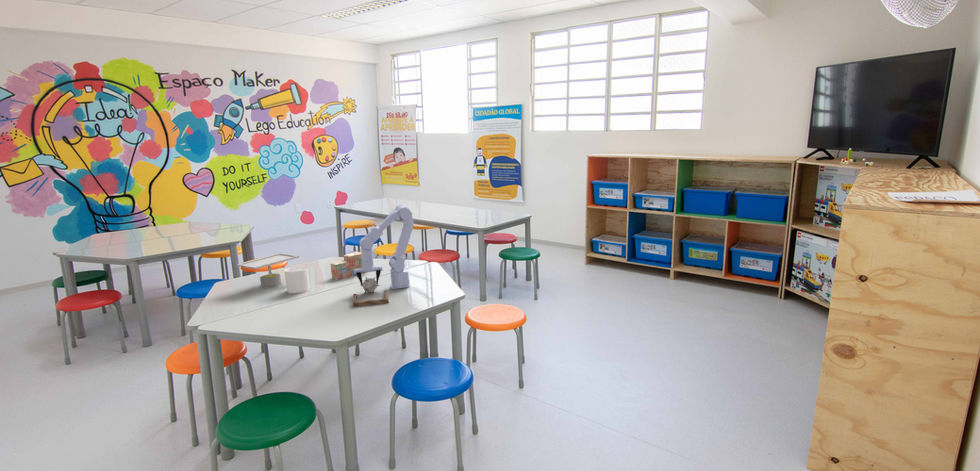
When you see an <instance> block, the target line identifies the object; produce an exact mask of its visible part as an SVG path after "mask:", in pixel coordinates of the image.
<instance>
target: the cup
mask: <svg viewBox="0 0 980 471" xmlns="http://www.w3.org/2000/svg"><path fill="white" fill-rule="evenodd" d="M283 272H284V278H285V279H284V280H285V288H286V292H287V293H288V294H294V295H295V294H302V293H305V292H308V291H309V290H310V289H311V287H310V277H309V270H308V267H307V266H305V265H300V266H299V265H298V266H292V267H286V268H285V269H284V271H283Z"/></svg>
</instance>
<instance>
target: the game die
mask: <svg viewBox="0 0 980 471" xmlns="http://www.w3.org/2000/svg"><path fill="white" fill-rule="evenodd" d="M362 282H363V284H361V283H360V286H361V285H362V286H361V287H362V288H363V289H364V294H366V293H372V294H374V293H375V291H376V289H378V288H377V287H380V284H378V285H377V283H376V277H374V278H371V277H370V278H368V277H366V276H365V279H364V281H362Z"/></svg>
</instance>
